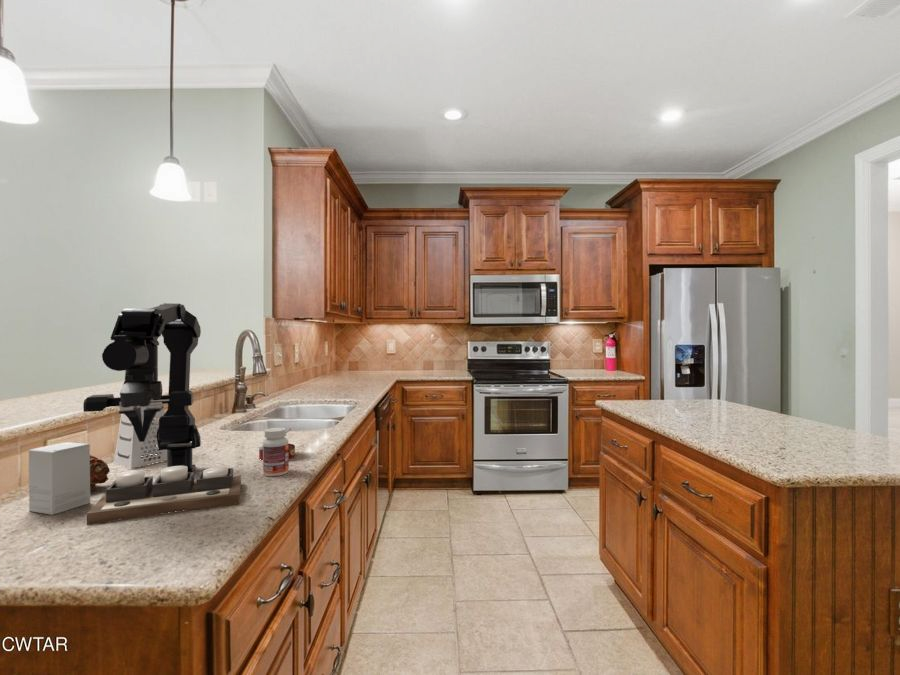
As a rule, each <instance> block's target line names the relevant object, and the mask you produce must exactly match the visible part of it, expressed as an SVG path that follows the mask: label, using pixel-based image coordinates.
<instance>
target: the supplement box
mask: <svg viewBox="0 0 900 675" xmlns="http://www.w3.org/2000/svg"><path fill="white" fill-rule="evenodd" d="M90 447H91V445H90V443H81V442H80V443H79V442H71V441H70V442H68V441H67V442H60V443H54V444H49V445H46V446H40V447H34V448H31V449H28V495H29V496H28V502H29V503H28V506H29V507H28V510H29V512H34V513H40V514H46V515H50V516H51V515H52V516H53V515H56V514H60V513H63V512H67V511H69V510H72V509H73V510H74V509H76V508H79V507H82V506H86V505H88V504H90V503H91V490H90V455H91V452H90V451H91V448H90Z"/></svg>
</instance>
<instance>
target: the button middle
mask: <svg viewBox="0 0 900 675" xmlns="http://www.w3.org/2000/svg"><path fill="white" fill-rule="evenodd" d="M160 475H161V483H167V482H176V481H185V480H187V479H188V467H187V466H172V467H167V466H166V467H164V468H162V469H161V470H160Z"/></svg>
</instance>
